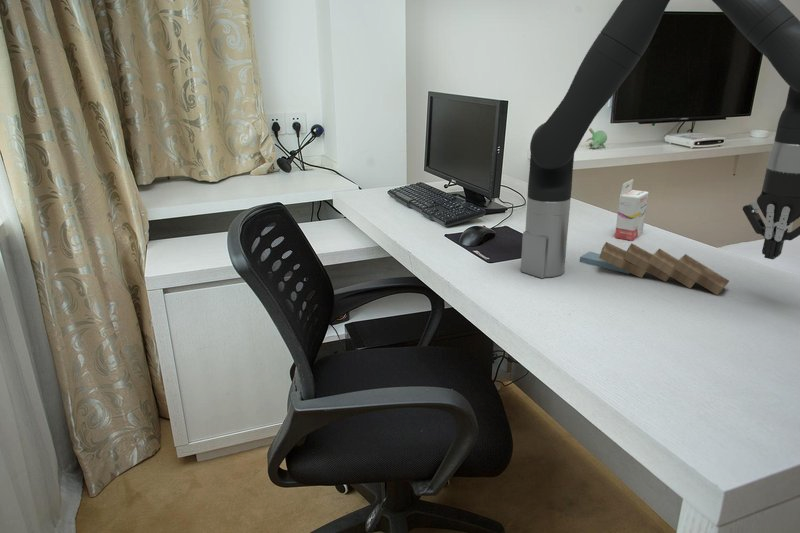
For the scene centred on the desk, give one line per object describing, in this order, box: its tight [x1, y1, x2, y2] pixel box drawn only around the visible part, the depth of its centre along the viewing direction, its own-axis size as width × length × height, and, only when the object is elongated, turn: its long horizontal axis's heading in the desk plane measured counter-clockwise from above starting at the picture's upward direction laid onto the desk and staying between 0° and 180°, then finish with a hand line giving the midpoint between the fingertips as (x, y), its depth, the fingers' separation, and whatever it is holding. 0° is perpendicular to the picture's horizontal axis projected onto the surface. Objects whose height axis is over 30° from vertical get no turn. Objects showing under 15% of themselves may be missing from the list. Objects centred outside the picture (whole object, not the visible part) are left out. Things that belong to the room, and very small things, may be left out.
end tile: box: [579, 251, 631, 275], centre depth 135 cm, size 5×2×12 cm
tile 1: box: [673, 254, 730, 296], centre depth 121 cm, size 5×2×10 cm
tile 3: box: [623, 242, 671, 283], centre depth 128 cm, size 5×2×10 cm
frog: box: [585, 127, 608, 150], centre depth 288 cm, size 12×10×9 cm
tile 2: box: [648, 248, 696, 289], centre depth 125 cm, size 5×2×10 cm
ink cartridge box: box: [614, 178, 650, 242], centre depth 153 cm, size 9×5×15 cm, turn 141°
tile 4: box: [599, 241, 646, 279], centre depth 130 cm, size 5×2×10 cm
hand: (770, 257), depth 110 cm, fingers closed
